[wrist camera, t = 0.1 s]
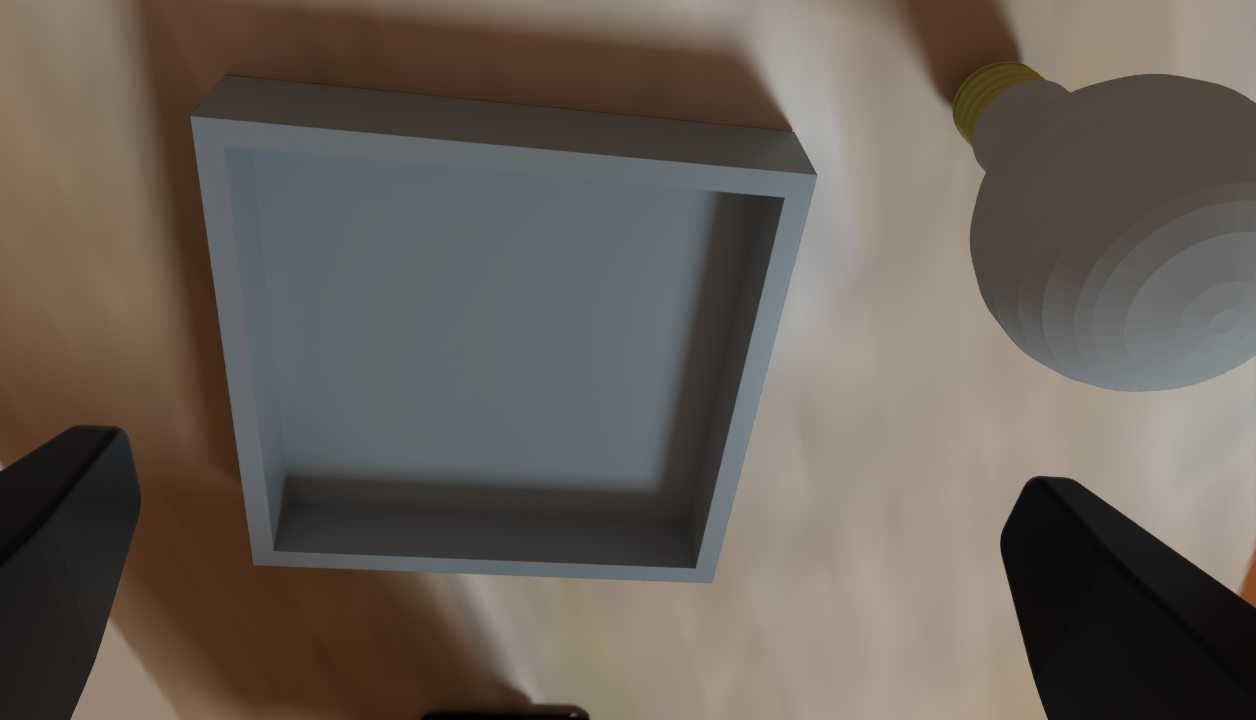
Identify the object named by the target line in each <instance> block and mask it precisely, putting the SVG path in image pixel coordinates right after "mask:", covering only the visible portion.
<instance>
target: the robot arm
mask: <svg viewBox="0 0 1256 720" xmlns="http://www.w3.org/2000/svg"><path fill="white" fill-rule="evenodd" d="M140 505H141V493H140V487H139V482H138V478H137V473H136V469H135V465H134V460H133V456H132V451H131V447H130V442H129V439H128V436H127V434H126V433H125V431H124V430H123V429H121V428H119V427H116V426H101V425H76V426H73V427H71V428H69V429H67V430H65V431H64V432H62V433H60V434H59V435H57V436H56V437H54V438H52V439H51V440H49V441H48V442H46V443H45V444H43V445H41V446H40V447H38V448H37V449H35V450H33V451H32V452H30V453H29V454H27V455H26V456H24V457H22V458H21V459H19V460H18V461H16V462H14V463H13V464H11V465H10V466H8V467H7V468H5V469H3V470H2V471H0V720H70V719H71V717H72V714H73V712H74V710H75V707H76V705H77V703H78V701H79V698H80V696H81V693H82V691H83V689H84V687H85V684H86V682H87V679H88V676H89V674H90V672H91V669H92V667H93V664H94V662H95V659H96V656H97V653H98V650H99V647H100V644H101V641H102V638H103V634H104V631H105V628H106V624H107V621H108V618H109V614H110V611H111V608H112V604H113V601H114V597H115V594H116V591H117V587H118V584H119V581H120V577H121V574H122V571H123V567H124V564H125V560H126V557H127V554H128V550H129V547H130V544H131V540H132V537H133V534H134V530H135V527H136V523H137V520H138V516H139V512H140ZM1000 548H1001V555H1002V559H1003V563H1004V567H1005V571H1006V575H1007V579H1008V583H1009V586H1010V590H1011V594H1012V598H1013V602H1014V606H1015V610H1016V614H1017V618H1018V622H1019V625H1020V629H1021V633H1022V637H1023V641H1024V645H1025V649H1026V653H1027V657H1028V661H1029V664H1030V668H1031V671H1032V674H1033V678H1034V681H1035V684H1036V687H1037V690H1038V693H1039V696H1040V699H1041V702H1042V705H1043V707H1044V710H1045V713H1046V716H1047V718H1048V720H1256V608H1255V607H1254V606H1252V605H1251V604H1249V603H1248V602H1247V601H1245V600H1243V599H1242V598H1241V597H1239V596H1238V595H1237V594H1235V593H1234V592H1232V591H1231V590H1230V589H1228V588H1227V587H1225V586H1224V585H1222V584H1221V583H1220V582H1218V581H1217V580H1215V579H1214V578H1213V577H1211V576H1210V575H1208V574H1207V573H1205V572H1204V571H1203V570H1201V569H1200V568H1198V567H1197V566H1196V565H1194V564H1193V563H1191V562H1190V561H1188V560H1187V559H1186V558H1184V557H1183V556H1181V555H1180V554H1179V553H1177V552H1176V551H1174V550H1173V549H1172V548H1170V547H1169V546H1167V545H1166V544H1164V543H1163V542H1162V541H1160V540H1159V539H1157V538H1156V537H1155V536H1153V535H1152V534H1150V533H1149V532H1147V531H1146V530H1145V529H1143V528H1142V527H1140V526H1139V525H1138V524H1136V523H1135V522H1133V521H1132V520H1131V519H1129V518H1128V517H1126V516H1125V515H1123V514H1122V513H1121V512H1119V511H1118V510H1116V509H1115V508H1114V507H1112V506H1111V505H1109V504H1108V503H1106V502H1105V501H1104V500H1102V499H1101V498H1099V497H1098V496H1097V495H1095V494H1094V493H1092V492H1091V491H1090V490H1088V489H1087V488H1085V487H1084V486H1082V485H1081V484H1080V483H1078V482H1077V481H1075V480H1073V479H1070V478H1065V477H1049V476H1037V477H1033V478H1031V479H1030V480H1029V481H1028V482H1027V483H1026V484H1025V486H1024V487H1023V489H1022V491H1021V494H1020V496H1019V498H1018V500H1017V502H1016V504H1015V506H1014V508H1013V510H1012V512H1011V514H1010V516H1009V518H1008V520H1007V522H1006V524H1005V526H1004V528H1003V530H1002V534H1001V540H1000ZM420 720H589V719H587V718H574V717H527V716H479V715H427V716H424V717H422V718H421V719H420Z"/></svg>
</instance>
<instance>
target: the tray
mask: <svg viewBox="0 0 1256 720" xmlns="http://www.w3.org/2000/svg"><path fill="white" fill-rule="evenodd" d="M190 118H191V125H192V132H193V139H194V146H195V153H196V160H197V168H198V175H199V182H200V189H201V196H202V203H203V210H204V217H205V225H206V232H207V239H208V246H209V253H210V260H211V267H212V274H213V282H214V289H215V296H216V303H217V310H218V317H219V324H220V332H221V339H222V346H223V353H224V360H225V367H226V374H227V381H228V389H229V396H230V403H231V410H232V417H233V424H234V431H235V438H236V446H237V453H238V460H239V467H240V474H241V481H242V488H243V495H244V503H245V510H246V517H247V524H248V531H249V538H250V545H251V553H252V560H253V565H256V566H282V567H308V568H333V569H359V570H385V571H410V572H436V573H462V574H487V575H513V576H539V577H564V578H590V579H615V580H641V581H667V582H692V583H712V582H713V578H714V574H715V570H716V566H717V563H718V559H719V555H720V551H721V547H722V543H723V539H724V535H725V531H726V528H727V524H728V520H729V516H730V512H731V508H732V504H733V500H734V497H735V493H736V489H737V485H738V481H739V477H740V473H741V469H742V466H743V462H744V458H745V454H746V450H747V446H748V442H749V438H750V435H751V431H752V427H753V423H754V419H755V415H756V411H757V407H758V403H759V400H760V396H761V392H762V388H763V384H764V380H765V376H766V372H767V369H768V365H769V361H770V357H771V353H772V349H773V345H774V341H775V338H776V334H777V330H778V326H779V322H780V318H781V314H782V310H783V307H784V303H785V299H786V295H787V291H788V287H789V283H790V279H791V275H792V272H793V268H794V264H795V260H796V256H797V252H798V248H799V244H800V241H801V237H802V233H803V229H804V225H805V221H806V217H807V213H808V210H809V206H810V202H811V198H812V194H813V190H814V186H815V182H816V179H817V173H816V172H815V170H814V168H813V166H812V164H811V162H810V160H809V158H808V157H807V155H806V153H805V151H804V149H803V147H802V145H801V143H800V142H799V140H798V138H797V136H796V134H795V132H792V131H782V130H772V129H762V128H752V127H742V126H732V125H722V124H712V123H702V122H692V121H681V120H671V119H661V118H651V117H641V116H631V115H621V114H611V113H601V112H591V111H581V110H571V109H561V108H551V107H541V106H531V105H521V104H511V103H501V102H491V101H481V100H471V99H460V98H450V97H440V96H430V95H420V94H410V93H400V92H390V91H380V90H370V89H360V88H350V87H340V86H330V85H320V84H310V83H300V82H290V81H280V80H270V79H260V78H250V77H239V76H229V75H225V76H224V77H223V78H222V79H221V80H220V81H219V83H218V84H217V85H216V86H215V87H214V89H213V90H212V91H211V92H210V93H209V95H208V96H207V97H206V98H205V99H204V100H203V102H202V103H201V104H200V105H199V106H198V108H197V109H196V110H195V111H194V112H193V114H192V115H191V116H190Z"/></svg>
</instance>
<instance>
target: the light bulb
mask: <svg viewBox="0 0 1256 720" xmlns="http://www.w3.org/2000/svg"><path fill="white" fill-rule="evenodd" d="M953 119H954V123H955V125H956V127H957V129H958V131H959V132H960V134H961V135H962V137H963V138H964V139H966V141H967V142H968V143H969V144H970V145H971V146H972V148H973V151H974V155H975V157H976V160H977V162H978V163H979V165H980V166H981V167H982V168H983V169H984V170H985V171H986V174H985V176H984V178H983V181H982V183H981V186H980V189H979V192H978V196H977V200H976V204H975V208H974V212H973V216H972V222H971V229H970V251H971V257H972V262H973V266H974V270H975V274H976V278H977V282H978V285H979V289H980V292H981V295H982V297H983V299H984V302H985V304H986V306H987V307H988V309H989V311H990V312H991V314H992V315H993V316H994V318H995V319H996V320H997V322H998V323H999V324H1000V326H1001V327H1002V328H1003V329H1004V331H1005V332H1006V333H1007V335H1008V336H1009V337H1010V338H1011V340H1012V341H1013V342H1014V343H1015V344H1016V346H1018V347H1019V348H1020V349H1021V350H1022V351H1023V352H1024V353H1025V354H1027V355H1028V356H1030V357H1031V358H1033V359H1034V360H1036V361H1038V362H1039V363H1041V364H1043V365H1045V366H1047V367H1049V368H1050V369H1052V370H1054V371H1056V372H1058V373H1060V374H1062V375H1063V376H1065V377H1068V378H1070V379H1073V380H1075V381H1079V382H1082V383H1086V384H1090V385H1093V386H1097V387H1101V388H1104V389H1109V390H1115V391H1126V392H1141V391H1158V390H1170V389H1176V388H1182V387H1186V386H1190V385H1194V384H1197V383H1200V382H1204V381H1206V380H1209V379H1212V378H1214V377H1217V376H1219V375H1221V374H1224V373H1226V372H1228V371H1230V370H1232V369H1233V368H1235V367H1237V366H1239V365H1241V364H1243V363H1245V362H1246V361H1248V360H1249V359H1251V358H1252V357H1253V356H1255V355H1256V103H1255V102H1253V101H1252V100H1250V99H1249V98H1247V97H1246V96H1244V95H1242V94H1240V93H1239V92H1237V91H1235V90H1233V89H1230V88H1227V87H1225V86H1222V85H1219V84H1215V83H1211V82H1207V81H1202V80H1197V79H1191V78H1186V77H1181V76H1175V75H1167V74H1143V75H1134V76H1128V77H1122V78H1118V79H1114V80H1109V81H1105V82H1101V83H1097V84H1094V85H1090V86H1087V87H1084V88H1081V89H1078V90H1076V91H1073V92H1071V93H1070V92H1069V91H1067V90H1066V89H1065V88H1064V87H1062V86H1061V85H1059V84H1057V83H1055V82H1052V81H1047V80H1045V79H1044V78H1043V77H1042V76H1040V75H1039V74H1038V73H1037V72H1035V71H1034V70H1032V69H1031V68H1030V67H1028V66H1026V65H1024V64H1021V63H1018V62H1013V61H1001V62H996V63H991V64H988V65H986V66H983V67H981V68H980V69H978V70H976V71H975V72H973V73H972V74H971V75H970V76H968V77H967V79H966V80H965V81H964V82H963V83H962V85H961V86H960V88H959V89H958V91H957V93H956V96H955V99H954V103H953Z"/></svg>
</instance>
